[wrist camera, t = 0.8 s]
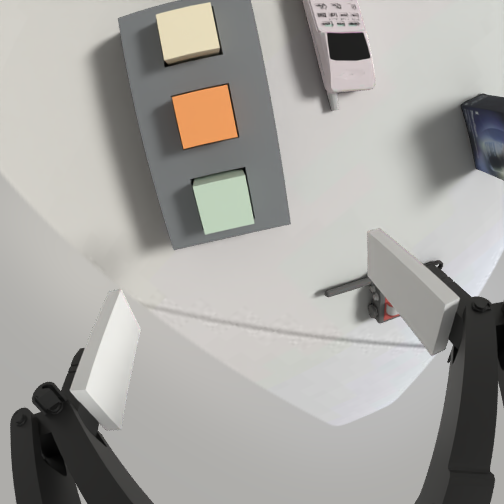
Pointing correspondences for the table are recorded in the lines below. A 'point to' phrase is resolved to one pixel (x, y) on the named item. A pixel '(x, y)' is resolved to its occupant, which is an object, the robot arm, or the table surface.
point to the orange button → (205, 116)
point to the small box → (486, 132)
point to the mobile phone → (340, 46)
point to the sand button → (188, 34)
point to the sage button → (223, 200)
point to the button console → (215, 153)
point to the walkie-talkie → (375, 297)
